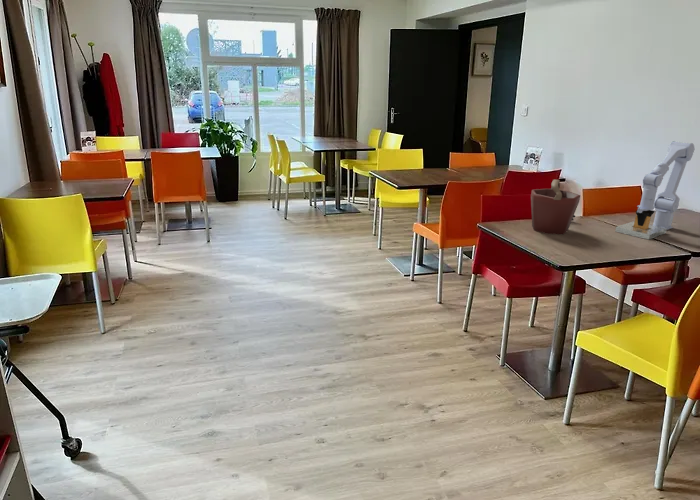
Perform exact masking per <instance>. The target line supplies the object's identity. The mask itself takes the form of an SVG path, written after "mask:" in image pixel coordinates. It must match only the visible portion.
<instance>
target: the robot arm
mask: <svg viewBox="0 0 700 500" xmlns="http://www.w3.org/2000/svg"><path fill="white" fill-rule="evenodd" d="M667 148H668V149H667V153H666V155H665V157H664V158H663V160H661V161H662V162H659V163H657V164H656V165H655V166H654V168H653V169H652V170H651V171H650V172H649V173H647V174H645V175H644V177H643V179H642V188H643V190H642V194H641V199H640V204H639V205H637V206H636V207H637V210H635V215H636V216H637V218H638V225H639V226H643V224H644V222H645V219H646V217H647V216H648V217H651V218H652V215H654V213H655V215H654V218H653V224H652V225H654V226H658V227H663V228H667V230H666V231H668V230H670V229H673V228H674V227H673V226H672V223H673V219H674V213H675V212H676V211H677V210H678V208H679V204H680V197H679V196H678V195H677V191H678V187H679V184H680V182H681V179H682V176H683V174H684V171H685V168H686V166H687V163H688V162H690V161H691V159H692V157H693V155H694V153H695V145H694V143H692V142H691V143H689V142H683V141H682V142H681V141H675V140H674V141H671V142H670V143H669V145H668V147H667ZM673 162H674V164H673V167H672V168H671V169H672V170H671V172H670V175H669V177H668V181H667V183H666V186H665V189H664V191H662V192H660V193H658V194H657V192H658V187H659V186H661V184H662V181H663V179H664V177H665V175H666V174H667V173H668V171H669V170H670V165H672V163H673Z"/></svg>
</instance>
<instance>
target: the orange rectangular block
mask: <svg viewBox="0 0 700 500" xmlns="http://www.w3.org/2000/svg"><path fill="white" fill-rule="evenodd" d="M651 218H652V216H651V217H648V216H647V217H646V219H645V222H644V224H643V226H639V225H638V218H637V215H635V218H634V221H635V222H634V226H633V227H635V228H640V229H644V230H646V229H648V228H649V225H650V223H651Z"/></svg>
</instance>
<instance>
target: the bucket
mask: <svg viewBox="0 0 700 500" xmlns="http://www.w3.org/2000/svg"><path fill="white" fill-rule="evenodd" d="M550 185H551V188H552V189H551V188H540V189H539V188H536V189H531V191H530V192H531V194H530V208H531V227H532V229H533V231H535V232H538V233H543V234H545V235H546V234H547V235H565V233H567V232H568V231H569V228H570V225H571V223H572V218H573V216H574V215H575V213H576V210H577V208H578V205H579V203H580V199H581V194H578V193H575V192H572V191H569V190H563V189H560V188H561V180H560V179H552V182H551V184H550ZM573 219H574V218H573Z"/></svg>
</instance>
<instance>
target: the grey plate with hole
mask: <svg viewBox="0 0 700 500" xmlns="http://www.w3.org/2000/svg"><path fill="white" fill-rule="evenodd" d="M634 222H635V220H633V221H630V222H627V223H623V224H621V225H617V226H616V227H615V232H617V233H619V234H624V235H628V236H633V237H636V238H640V239H645V240H652V239H655V238H657V237H659V235H660V236H663V235H664V234H666V233H667V231H668V230H667V228H663V227H658V226H654V225H653V224H649V228H648V229H646V230H644V229H640V228H635V227H633V226H634Z"/></svg>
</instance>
